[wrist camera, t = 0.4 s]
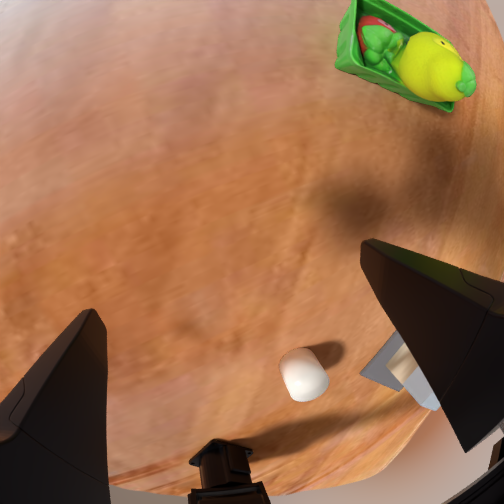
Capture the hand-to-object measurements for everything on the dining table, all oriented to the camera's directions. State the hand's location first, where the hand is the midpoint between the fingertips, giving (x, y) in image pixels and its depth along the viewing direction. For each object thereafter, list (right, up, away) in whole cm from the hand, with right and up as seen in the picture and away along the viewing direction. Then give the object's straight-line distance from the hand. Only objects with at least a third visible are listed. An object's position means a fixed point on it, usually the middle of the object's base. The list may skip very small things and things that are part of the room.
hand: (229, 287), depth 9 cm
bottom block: (+21, -12, +24) cm, 34 cm away
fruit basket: (+12, +18, +13) cm, 25 cm away
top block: (+21, -13, +20) cm, 32 cm away
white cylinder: (+5, -10, +21) cm, 24 cm away
